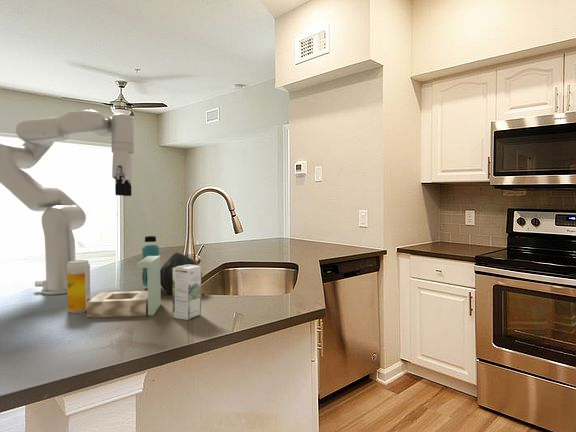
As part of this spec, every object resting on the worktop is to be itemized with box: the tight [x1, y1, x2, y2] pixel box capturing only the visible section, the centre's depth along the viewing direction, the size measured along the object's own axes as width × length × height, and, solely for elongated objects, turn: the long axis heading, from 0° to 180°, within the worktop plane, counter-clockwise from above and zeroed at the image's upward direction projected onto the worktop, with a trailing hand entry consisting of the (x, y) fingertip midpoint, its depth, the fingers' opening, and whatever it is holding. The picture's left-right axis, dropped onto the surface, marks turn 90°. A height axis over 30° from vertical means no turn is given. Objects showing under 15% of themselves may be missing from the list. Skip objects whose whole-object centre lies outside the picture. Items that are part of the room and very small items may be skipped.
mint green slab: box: [136, 255, 162, 316], centre depth 118 cm, size 4×14×16 cm, turn 8°
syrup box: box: [172, 265, 202, 321], centre depth 111 cm, size 6×6×14 cm
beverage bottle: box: [141, 235, 160, 287], centre depth 148 cm, size 6×7×20 cm
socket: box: [86, 290, 148, 318], centre depth 117 cm, size 16×12×4 cm
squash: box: [160, 252, 203, 295], centre depth 142 cm, size 14×15×15 cm
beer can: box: [66, 259, 92, 314], centre depth 117 cm, size 6×6×15 cm
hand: (123, 195), depth 143 cm, fingers open, 9 cm apart
